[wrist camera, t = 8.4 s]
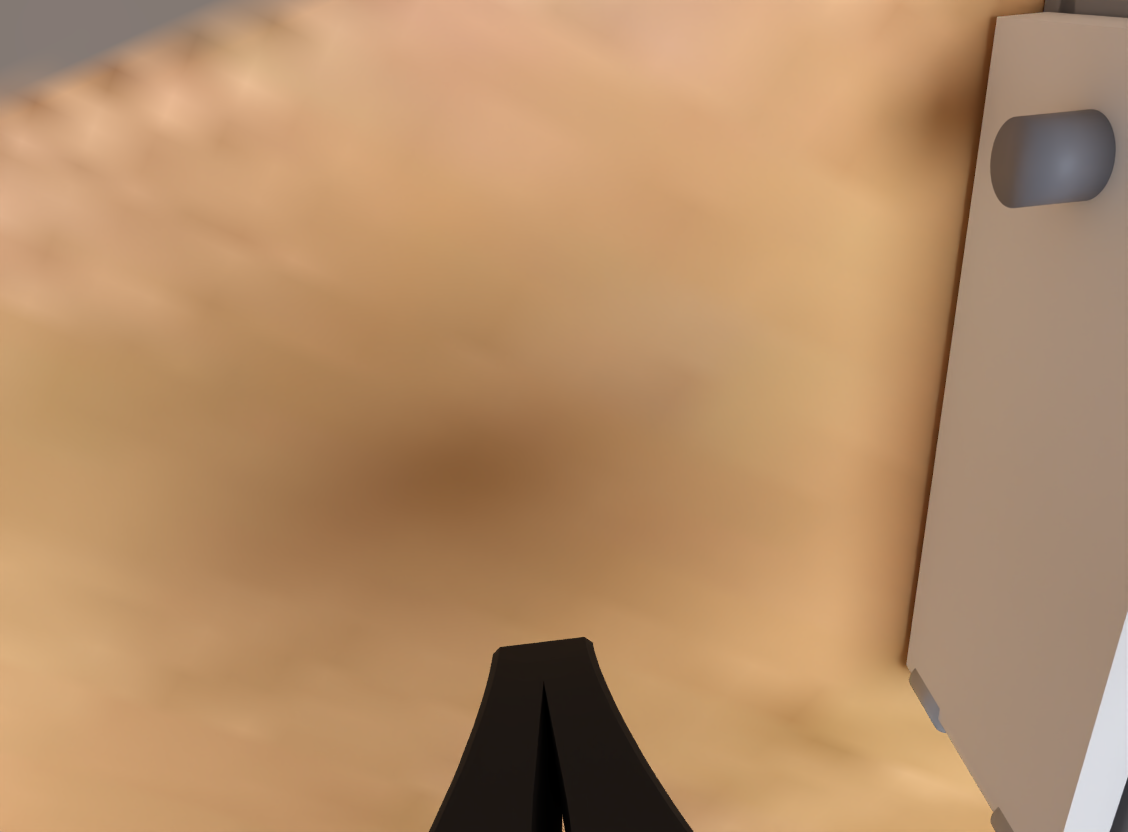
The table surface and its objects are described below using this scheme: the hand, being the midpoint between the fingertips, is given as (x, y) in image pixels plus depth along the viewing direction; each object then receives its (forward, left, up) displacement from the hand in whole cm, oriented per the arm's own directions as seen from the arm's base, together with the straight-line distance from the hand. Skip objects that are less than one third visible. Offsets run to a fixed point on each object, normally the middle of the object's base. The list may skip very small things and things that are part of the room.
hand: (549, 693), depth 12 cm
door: (+8, +1, -5) cm, 10 cm away
